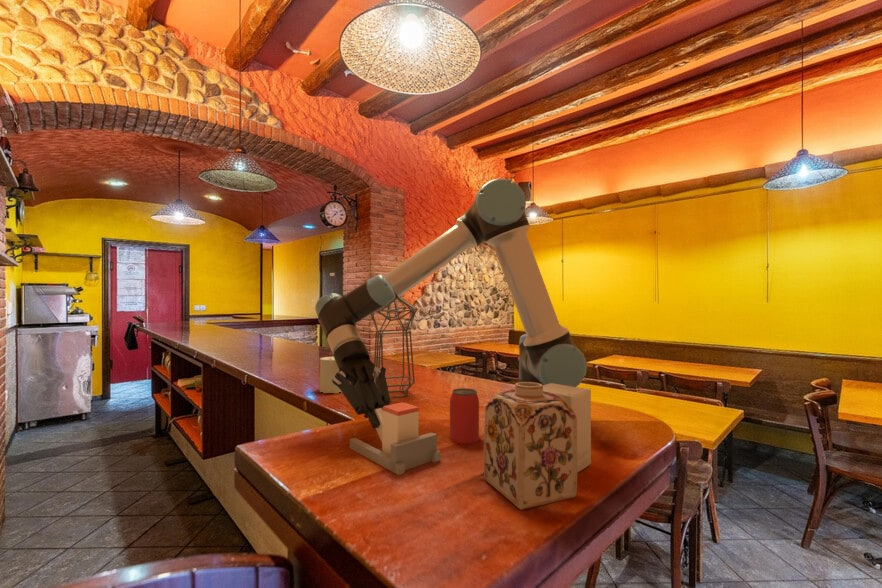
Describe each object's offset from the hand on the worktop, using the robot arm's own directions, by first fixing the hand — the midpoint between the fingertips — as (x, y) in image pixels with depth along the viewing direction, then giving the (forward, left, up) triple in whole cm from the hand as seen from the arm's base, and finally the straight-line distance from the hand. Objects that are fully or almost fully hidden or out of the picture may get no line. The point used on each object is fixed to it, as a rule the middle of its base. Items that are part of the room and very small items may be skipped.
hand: (388, 439), depth 79 cm
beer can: (-11, -14, -4) cm, 19 cm away
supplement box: (-32, -12, -4) cm, 35 cm away
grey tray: (-2, +1, -4) cm, 5 cm away
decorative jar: (-28, +1, -4) cm, 29 cm away
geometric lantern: (+27, -48, -4) cm, 55 cm away
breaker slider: (-4, +1, -2) cm, 5 cm away
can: (+49, -45, -4) cm, 67 cm away
